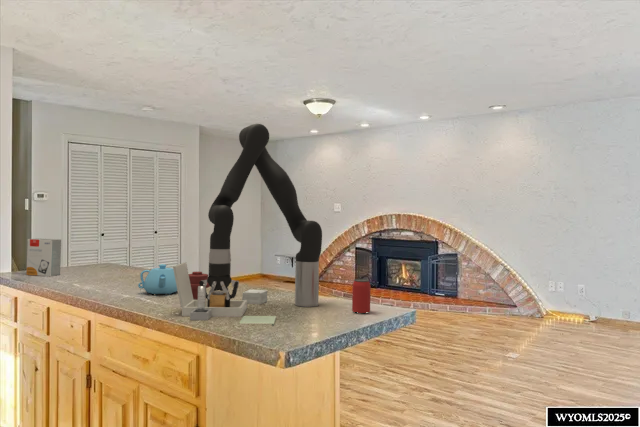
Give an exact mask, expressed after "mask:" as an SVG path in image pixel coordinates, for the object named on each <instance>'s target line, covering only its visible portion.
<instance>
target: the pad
mask: <svg viewBox="0 0 640 427" xmlns="http://www.w3.org/2000/svg"><path fill="white" fill-rule="evenodd" d="M276 319H277V316H276V315H242V317H241V319H240V321H239V324H240V325H241V324H243V325H244V324H248V325H249V324H251V325H252V324H254V325H255V324H256V325H257V324H258V325H259V324H260V325H262V324H263V325H265V324H267V325H271V326H275V322H276Z"/></svg>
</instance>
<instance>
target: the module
mask: <svg viewBox="0 0 640 427" xmlns="http://www.w3.org/2000/svg"><path fill="white" fill-rule="evenodd" d="M225 304H226V294H224V292H223V291H220V290H218V291H215V292H214V293H213V294H211V295H210V307H225Z"/></svg>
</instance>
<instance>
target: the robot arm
mask: <svg viewBox="0 0 640 427" xmlns="http://www.w3.org/2000/svg"><path fill="white" fill-rule="evenodd" d="M238 140H239V143H240V146H241V148H242V150H241V152H240V155H239V157H238V158H237V160H236V161H235V163H234V164H233V166H232V167H231V169H230V171H229V172H227V173H228V174H227V176H226V178H225V179H224V181H223V184H222V186H221V188H220V191H219V193H218V194H217V196H216V198H214V200H213V203H212V204H211V205H210V208H209V210H208V213H207V214H208V220H209V222H211V223H212V224H213V230H212V231H213V232H212V233H211V234H210V238H209V253H208V279H207V280H201V281H200V282H199V284H200V286H206V285H207V282H208V284H209V285H210V287H209V288H210V289H209V292H207V291H206V300H208V304H207V307H210V295H211V294H213V293H214V292H215V291H223V292H224V294H226V304H225V307H230V300H231V299H232V300H233V299H235V298H236V296H237V292H238V288H239V284H240V281H239V280H233V278H232V276H231V268H232V267H231V265H232V264H231V262H232V255H231V235H232V231H233V226H234V220H235V218H234V212H233V209H232V207H233V205H234V204H235V203H236V202H237V201H238V200H239V199H240V197H241V195H242V192H243V191H244V188H245V184H246V183H247V180H248V178H249V176H250V175H251V172H252V169H254V166H255V168H256V169H257V171H258V173H259V175H260V177H261V178H262V180H263V182H264V184H265V186H266V187H267V189H268V191H269V193H270V194H271V197H273V199H274V201H275V203H276V204H277V206H278V208H279V210H280V212H281V213H282V214H283V217H284V218H285V220H286V222H287V225H288V228H289V229H290V231H291V234H292V236H293V238H294V239H295V241H297V242H298V243H300V248H299V251H298V252H297V253H296V254H295V272H294V274H295V276H294V278H295V280H294V305H295V306H297V307H306V308H307V307H308V308H309V307H310V308H311V307H318V306H319V296H320V294H319V293H320V292H319V290H320V288H319V286H320V282H319V276H320V275H319V272H320V256H321V253H322V245H323V244H322V243H323V230H322V227H321V225H320V223H319V222H317V221H315V220H307V218H306V217H305V215H304V214H303V212H302V210H301V209H300V206H299V202H298V195H297V191H296V188H295V184H294V183H293V181H292V179H291V178H290V176H289V175H288V173H287V172H286V171H285V169H284V168H282V167H281V165H280V164H279V163H278V162H276V160H274V158H273V157H272V156H271V155H270V153H269V152H268V150H267V147H266V146H267V145H268V143H269V141H270V132H269V129H268V128H267V127H266V126H265V125H264V124H262V123H253V124H250V125H248V126H246V127H243V128H242V129H241V131H240V132H239V133H238ZM230 285H231V286H232V287H233V288H232V293H230V289H229V286H230Z"/></svg>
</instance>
